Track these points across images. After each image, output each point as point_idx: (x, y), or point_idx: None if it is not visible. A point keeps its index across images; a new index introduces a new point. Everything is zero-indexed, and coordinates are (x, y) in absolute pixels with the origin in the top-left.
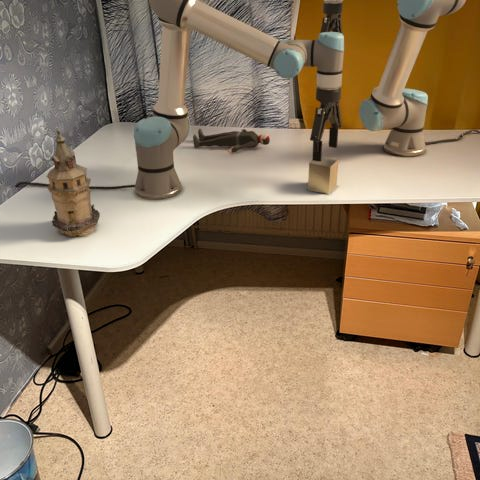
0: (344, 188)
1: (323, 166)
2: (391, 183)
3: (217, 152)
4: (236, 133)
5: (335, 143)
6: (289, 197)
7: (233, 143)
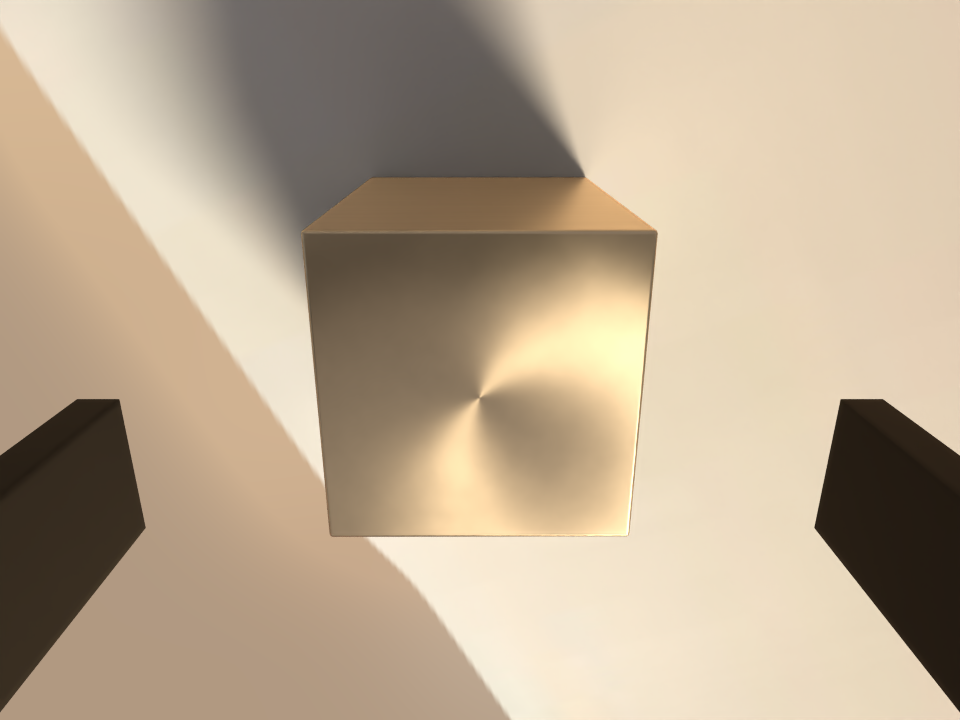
0: None
1: (322, 444)
2: (802, 692)
3: None
4: None
5: (860, 563)
6: (108, 83)
7: None
